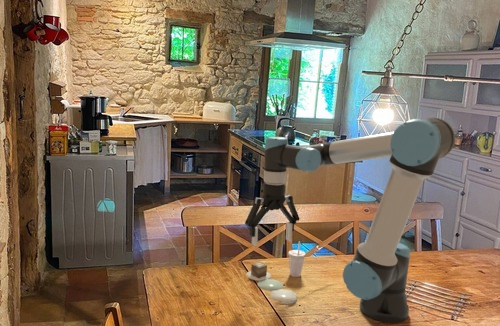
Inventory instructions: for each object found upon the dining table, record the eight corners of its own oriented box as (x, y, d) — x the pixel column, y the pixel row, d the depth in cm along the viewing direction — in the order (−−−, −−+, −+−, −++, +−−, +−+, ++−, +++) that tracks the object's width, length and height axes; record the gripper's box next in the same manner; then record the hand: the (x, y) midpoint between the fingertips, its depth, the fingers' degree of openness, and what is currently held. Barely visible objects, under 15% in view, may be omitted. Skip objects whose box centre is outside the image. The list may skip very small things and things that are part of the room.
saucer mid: (288, 291, 159) (288, 287, 159) (265, 295, 155) (265, 292, 155) (274, 280, 167) (274, 277, 167) (252, 284, 163) (253, 281, 162)
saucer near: (302, 302, 152) (302, 298, 151) (278, 307, 147) (279, 303, 147) (287, 290, 159) (287, 287, 159) (264, 295, 155) (265, 291, 155)
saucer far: (275, 281, 166) (275, 278, 166) (253, 285, 162) (253, 282, 162) (263, 271, 174) (263, 268, 174) (241, 275, 170) (242, 272, 170)
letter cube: (266, 275, 168) (267, 264, 167) (258, 278, 165) (259, 267, 164) (258, 271, 171) (259, 261, 170) (250, 274, 168) (251, 263, 167)
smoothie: (304, 281, 167) (307, 245, 165) (286, 280, 167) (289, 244, 165) (302, 274, 173) (305, 239, 171) (285, 273, 174) (288, 238, 171)
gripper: (299, 178, 165) (296, 235, 168) (236, 182, 153) (234, 243, 157) (311, 182, 158) (308, 241, 162) (246, 187, 147) (244, 251, 150)
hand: (271, 243), depth 159 cm, fingers open, 13 cm apart
